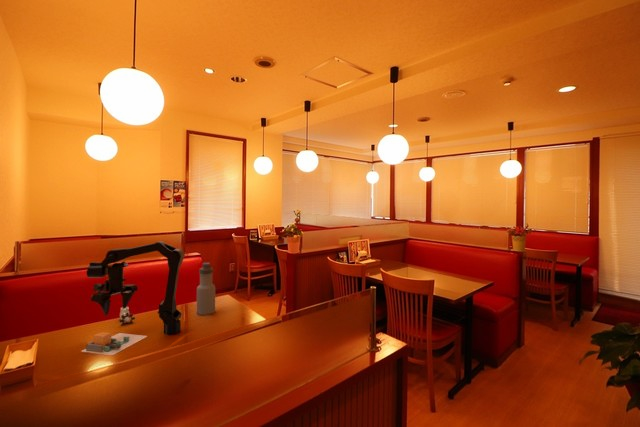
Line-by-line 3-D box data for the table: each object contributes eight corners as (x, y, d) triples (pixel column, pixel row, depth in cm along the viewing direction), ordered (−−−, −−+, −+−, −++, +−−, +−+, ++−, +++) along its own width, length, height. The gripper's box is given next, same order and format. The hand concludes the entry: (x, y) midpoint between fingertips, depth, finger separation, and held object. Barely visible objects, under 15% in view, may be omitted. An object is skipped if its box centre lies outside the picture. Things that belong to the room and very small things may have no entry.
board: (147, 338, 132) (147, 336, 132) (111, 357, 115) (111, 355, 115) (119, 335, 135) (119, 333, 135) (80, 353, 118) (80, 351, 118)
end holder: (116, 344, 124) (116, 338, 124) (100, 352, 117) (100, 346, 117) (102, 342, 125) (102, 337, 125) (86, 350, 118) (86, 344, 118)
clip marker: (128, 341, 127) (129, 336, 127) (118, 346, 122) (118, 341, 122) (125, 340, 128) (125, 336, 128) (114, 345, 123) (114, 341, 123)
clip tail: (118, 346, 122) (118, 341, 122) (108, 351, 118) (108, 347, 118) (114, 345, 123) (114, 341, 123) (103, 351, 118) (103, 346, 118)
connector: (123, 347, 121) (123, 334, 121) (115, 351, 118) (115, 338, 118) (102, 345, 123) (102, 331, 123) (93, 348, 120) (93, 335, 120)
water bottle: (197, 310, 170) (197, 261, 170) (215, 308, 173) (215, 261, 173) (195, 316, 160) (196, 265, 160) (214, 314, 163) (215, 264, 163)
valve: (116, 320, 153) (119, 328, 144) (116, 308, 153) (119, 314, 144) (131, 318, 157) (135, 324, 148) (131, 305, 157) (135, 311, 148)
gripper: (118, 271, 143) (118, 303, 143) (80, 280, 124) (80, 317, 125) (138, 273, 141) (138, 305, 141) (102, 282, 122) (102, 319, 122)
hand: (115, 311), depth 132 cm, fingers open, 9 cm apart
